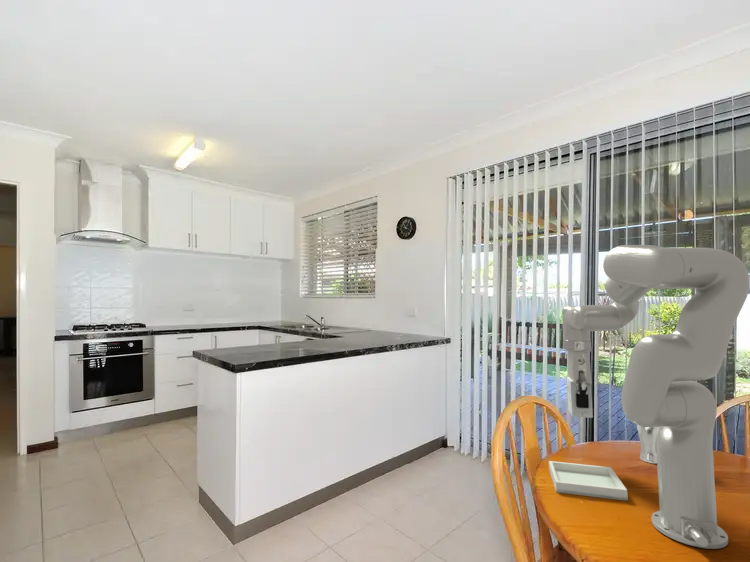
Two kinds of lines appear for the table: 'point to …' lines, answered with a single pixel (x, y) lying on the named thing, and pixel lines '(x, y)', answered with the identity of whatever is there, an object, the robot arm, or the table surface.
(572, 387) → the small box
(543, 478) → the table surface
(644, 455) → the beer glass
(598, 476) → the carrier tray
